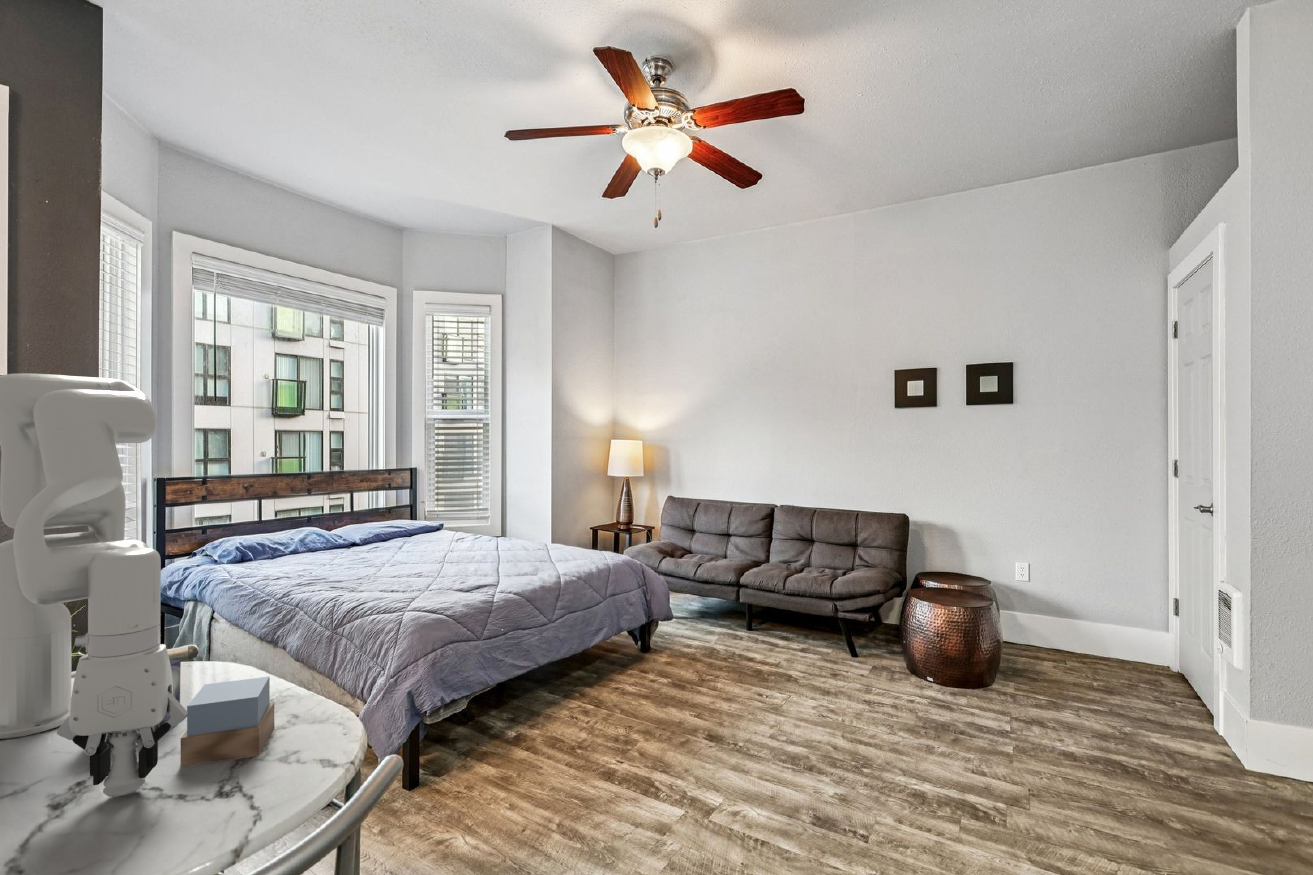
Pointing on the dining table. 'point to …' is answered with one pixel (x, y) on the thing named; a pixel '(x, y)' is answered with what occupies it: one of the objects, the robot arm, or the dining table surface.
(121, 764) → the rook chess piece
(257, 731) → the walnut block
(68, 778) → the dining table surface
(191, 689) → the dining table surface
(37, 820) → the dining table surface
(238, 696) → the slate-blue block
